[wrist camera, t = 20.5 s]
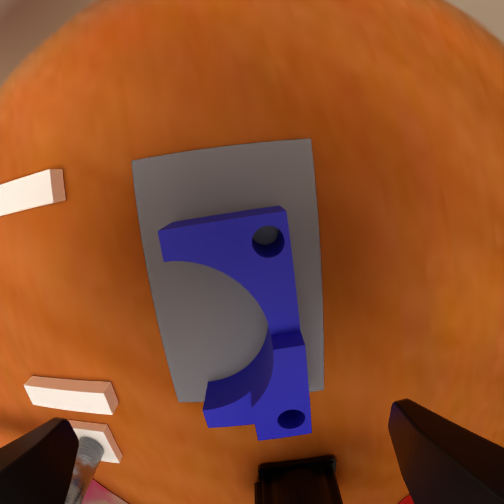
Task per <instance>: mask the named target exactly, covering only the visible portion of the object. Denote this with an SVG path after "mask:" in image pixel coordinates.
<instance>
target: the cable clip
mask: <svg viewBox="0 0 504 504" xmlns="http://www.w3.org/2000/svg"><path fill="white" fill-rule="evenodd" d="M263 226H274V227H276V228H278V229H279V233H278V237H277V238H276V240H275V241H274V242H273V243H271V244H268V245H262V244H259V243H257V242H256V241H255V240H254V239H253V235H254V233H255V232H256V231H257V230H258V229H259V228H261V227H263ZM158 236H159V241H160V246H161V251H162V256H163V261H164V262H169V261H185V262H193V263H198V264H202V265H206V266H209V267H211V268H214V269H216V270H219V271H221V272H223V273H225V274H226V275H228V276H230V277H231V278H233V279H234V280H236V281H237V282H238V283H240V284H241V285H242V286H243V287H244V288H245V289H246V290H248V291H249V293H250V294H251V295H252V296H253V297H254V298H255V300H256V301H257V303H258V304H259V305H260V307H261V309H262V311H263V312H264V314H265V317H266V319H267V322H268V329H267V334H266V338H265V341H264V344H263V346H262V348H261V350H260V351H259V353H258V354H257V356H256V357H255V358H254V359H253V361H252V362H251V363H250V364H248V365H247V366H246V367H245V368H244V369H242V370H241V371H239V372H237V373H236V374H234V375H232V376H229V377H227V378H224V379H220V380H216V381H209V382H208V384H207V389H206V395H205V400H204V406H203V413H204V416H205V419H206V422H207V425H208V428H214V427H228V426H240V425H250V424H255V427H256V432H257V436H258V441H260V440H268V439H276V438H284V437H290V436H297V435H303V434H309V433H312V427H311V412H310V398H309V384H308V372H307V360H306V348H305V343H304V340H303V337H302V334H301V331H300V321H299V312H298V302H297V293H296V284H295V276H294V267H293V259H292V250H291V242H290V234H289V227H288V219H287V211H286V210H285V209H284V208H282V207H281V206H273V207H266V208H259V209H252V210H245V211H239V212H232V213H226V214H219V215H213V216H207V217H201V218H195V219H189V220H183V221H177V222H172V223H170V224H168V225H167V226H165V227H163V228H162V229H160V230H158Z"/></svg>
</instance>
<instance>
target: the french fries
mask: <svg viewBox="0 0 504 504" xmlns="http://www.w3.org/2000/svg"><path fill="white" fill-rule="evenodd" d="M398 504H414V502H413V500H412V497H411V495H409V496H407V497H405V498H404V499H403V500H402V501H401V502H400V503H398Z"/></svg>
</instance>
